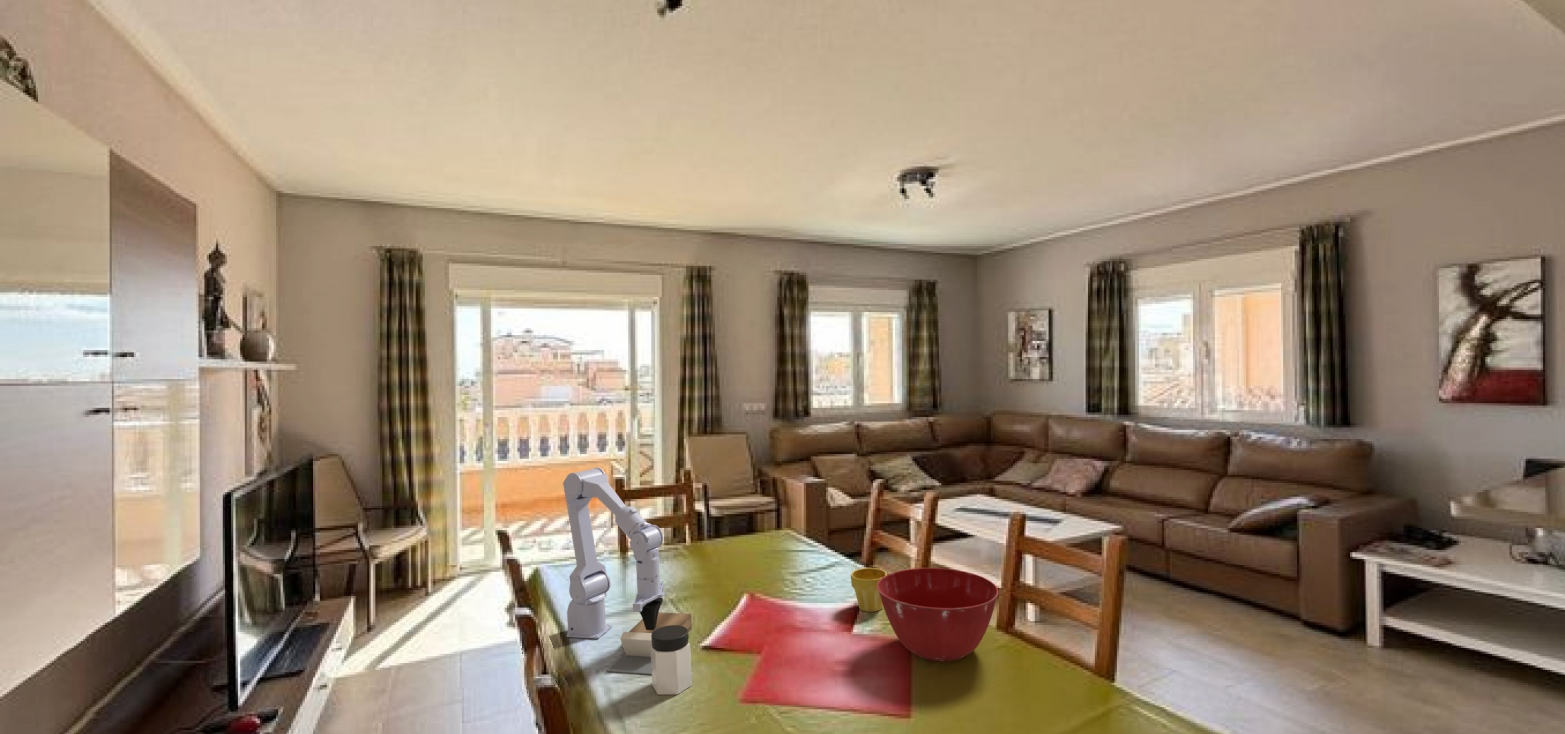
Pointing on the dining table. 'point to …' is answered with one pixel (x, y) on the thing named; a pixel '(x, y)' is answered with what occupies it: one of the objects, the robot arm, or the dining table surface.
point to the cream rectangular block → (636, 643)
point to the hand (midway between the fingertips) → (650, 629)
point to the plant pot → (867, 588)
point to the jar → (670, 660)
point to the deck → (666, 622)
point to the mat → (632, 665)
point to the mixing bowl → (938, 610)
